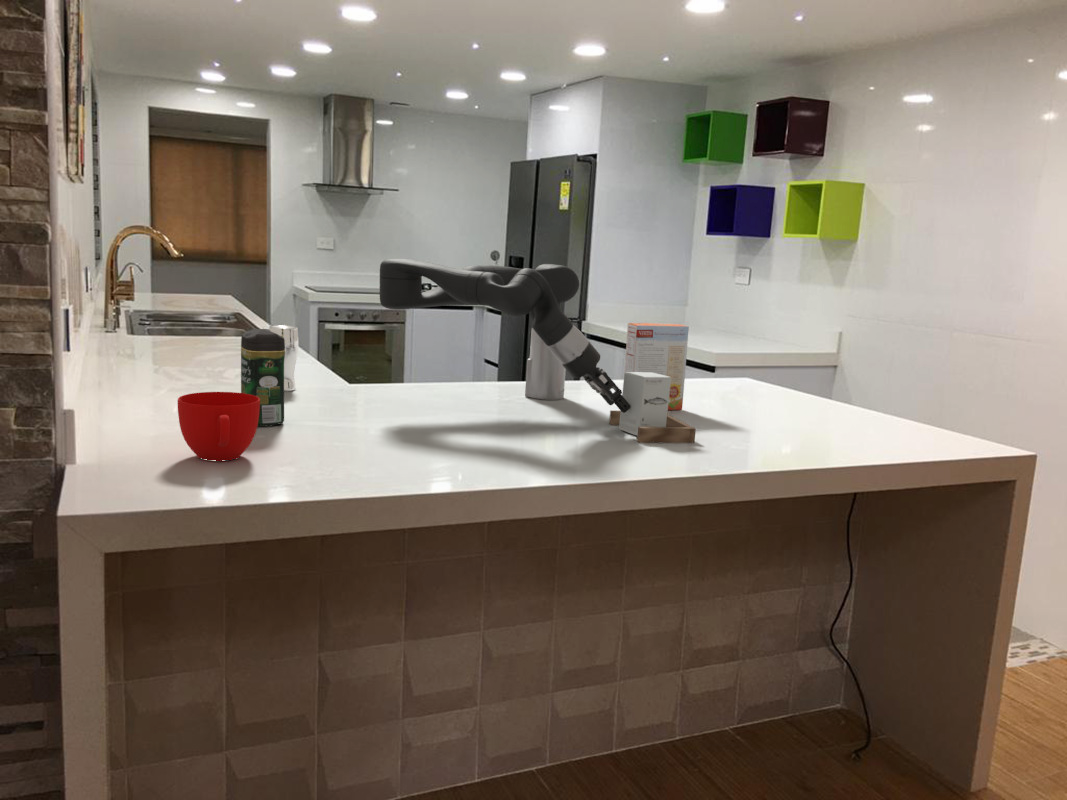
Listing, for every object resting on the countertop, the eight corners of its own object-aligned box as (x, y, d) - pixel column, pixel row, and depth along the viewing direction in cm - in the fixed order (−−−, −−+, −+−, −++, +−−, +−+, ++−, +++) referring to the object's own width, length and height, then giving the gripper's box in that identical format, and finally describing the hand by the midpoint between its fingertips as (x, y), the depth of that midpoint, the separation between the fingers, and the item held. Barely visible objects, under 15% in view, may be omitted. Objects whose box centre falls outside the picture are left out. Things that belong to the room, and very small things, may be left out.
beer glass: (293, 392, 216) (294, 329, 213) (263, 390, 216) (264, 327, 213) (300, 387, 222) (301, 326, 220) (272, 386, 222) (273, 324, 220)
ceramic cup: (181, 474, 141) (180, 411, 140) (175, 449, 157) (175, 391, 155) (267, 471, 147) (268, 410, 145) (254, 446, 162) (255, 391, 160)
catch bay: (639, 442, 185) (640, 428, 185) (609, 423, 202) (610, 410, 202) (694, 442, 188) (695, 428, 188) (660, 424, 205) (661, 411, 205)
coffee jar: (236, 418, 184) (237, 326, 181) (276, 416, 188) (277, 326, 185) (246, 428, 176) (247, 332, 172) (288, 426, 179) (289, 332, 176)
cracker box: (671, 406, 230) (678, 323, 226) (682, 411, 224) (690, 326, 220) (620, 406, 225) (627, 321, 221) (630, 411, 219) (637, 324, 216)
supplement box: (637, 436, 190) (643, 376, 188) (617, 429, 196) (623, 371, 194) (666, 435, 194) (672, 376, 191) (645, 428, 200) (651, 371, 198)
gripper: (551, 358, 198) (597, 411, 203) (569, 367, 185) (618, 424, 189) (577, 335, 199) (622, 389, 203) (597, 342, 185) (645, 400, 190)
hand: (620, 406), depth 196 cm, fingers open, 8 cm apart
